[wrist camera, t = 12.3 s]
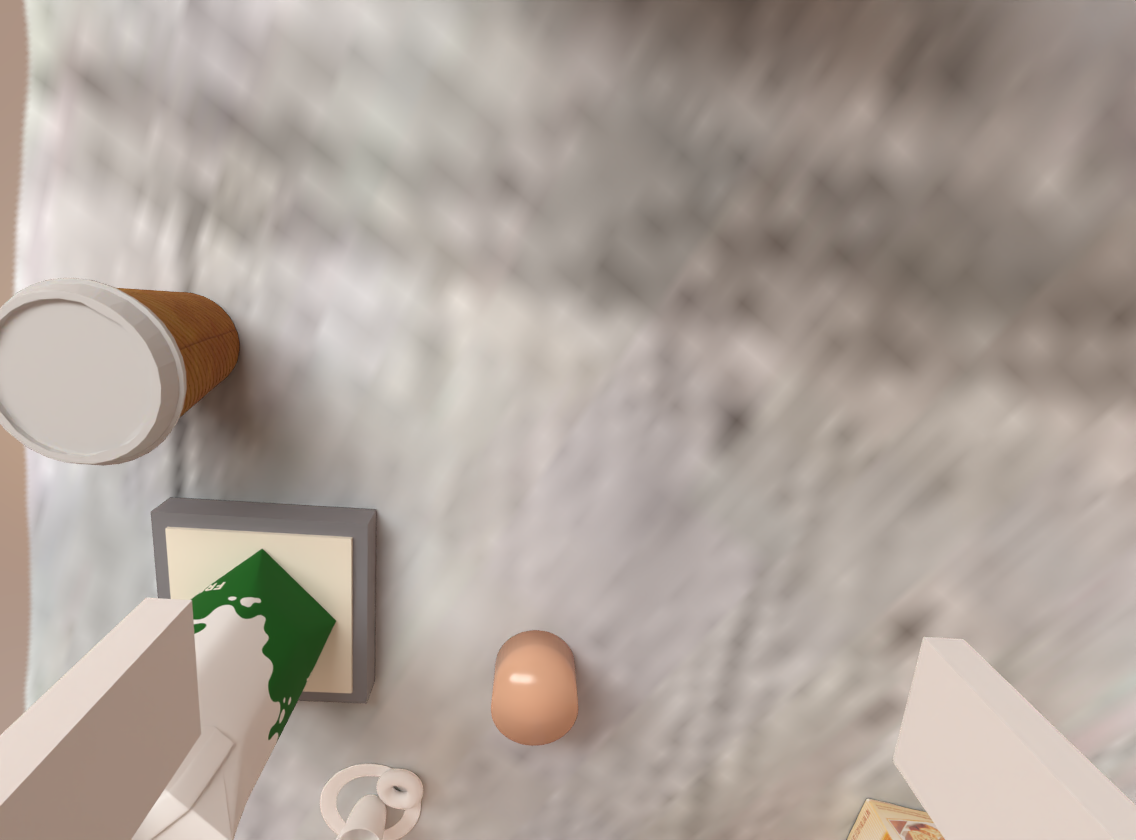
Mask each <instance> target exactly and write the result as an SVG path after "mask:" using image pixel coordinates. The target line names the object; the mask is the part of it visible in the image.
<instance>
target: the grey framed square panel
mask: <svg viewBox="0 0 1136 840" xmlns="http://www.w3.org/2000/svg"><path fill="white" fill-rule="evenodd" d="M151 521H152V533H153V545H154V556H155V568H156V580H157V592H158V598H161V599H181V600H190V599H192V598H193V597H194V596H196V595H197V594H198V593H200V592H201V591H202V590H204V589H205V588H207V587H208V586H209V585H211V584H212V583H214V582H215V581H216V580H218V579H219V578H221V577H222V576H224V575H225V574H226V573H228V572H229V571H231V570H232V569H234V568H235V567H236V566H238V565H239V564H241V563H242V562H244V561H245V560H246V559H248V558H249V557H251V556H252V555H254V554H255V553H256V552H258V551H259V550H261V549H263V550H264V551H265V552H267V553H268V554H269V555H270V556H271V557H272V558H273V559H274V560H275V561H276V562H277V563H278V564H279V565H280V566H281V567H282V568H283V569H284V570H285V571H286V572H287V573H288V574H289V575H290V576H291V577H292V578H293V579H294V580H295V581H296V582H297V583H298V584H299V585H300V586H301V587H302V588H303V589H304V590H305V591H306V592H307V593H308V594H310V595H311V596H312V597H313V598H314V599H315V600H316V601H317V602H318V603H319V604H320V605H321V606H322V607H323V608H324V609H325V610H326V611H327V612H328V613H329V614H330V615H331V616H332V617H333V618H334V619H335V620H336V623H335V625H334V627H333V629H332V631H331V633H330V635H329V637H328V639H327V641H326V644H325V646H324V648H323V650H322V652H321V654H320V656H319V658H318V661H317V663H316V665H315V667H314V669H313V671H312V673H311V675H310V677H309V679H308V682H307V684H306V686H305V687H304V689H303V691H302V693H301V695H300V697H299V699H298V700H300V701H324V702H348V703H367V701H368V698H369V696H370V693H371V690H372V687H373V684H374V682H375V586H376V509H360V508H343V507H326V506H309V505H292V504H275V503H258V502H241V501H224V500H207V499H190V498H173V497H170V498H169V499H167V500H166V501H165V502H163V503H162V504H161V505H159V506H158V507H156V508H155V509H154V510H152V511H151Z"/></svg>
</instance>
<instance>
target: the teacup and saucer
mask: <svg viewBox="0 0 1136 840" xmlns="http://www.w3.org/2000/svg"><path fill="white" fill-rule="evenodd" d="M363 776H376V777H380V778H379V780H378V782H377V793H378V796H376V795H366V796H363V797H362V798H361V799H360V800H359V801H358V802H357V803H356V804H355V806H354V807H353V809H352V811H351V813H350V815H349V817H348V819H347V822H345V821H344V820H343V819H342V818H341V817H340V815H339V813H338V811H337V807H336V799H337V795H338V793H339V791H340V790H341V788H342V787H343V786H344V785H345V784H346V783H348V782H349V781H351V780H353V779H355V778H358V777H363ZM393 786H397V787H398V788H399V789H400V790H401V792H400V791H397V790H396V789H394V788H393ZM422 797H423V784H422V782H421V780H420V779H419V777H418V776H417V775H416V774H414V773H413V772H411V771H409V770H406V769H400V768H397V769H393V768H390V767H388V766H384V765H379V764H358V765H354V766H350V767H347V768H345V769H343V770H341V771H339V772H338V773H336V774H335V775H334V776H332V777H331V778H330V779H329V781H328V782H327V783H326V785H325V786H324V788H323V790H322V793H321V797H320V810H321V814H322V816H323V819H324V820H325V822H326V824H327V825H328V826H329V827H330V829H331V830H332V831H334V832H335V833H336V834H337V835H338V837H337V838H336V840H398V839H400V838H402V837H403V836H405V835H406V834H407V833H408V832H409V831H410V830H411V829H412V828H413V827H414V826H415V824H416V823H417V821H418V818H419V816H420V812H421V799H422ZM385 804H386V805H388V806H390V807H392V808H396V809H405V812H404V814H403V816H402V818H401V819H400V821H399V822H398V823H396V824H395V825H394V826H392V827H391V828H388V829H386V830H384V829H385V823H386V806H385Z"/></svg>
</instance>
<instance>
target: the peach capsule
mask: <svg viewBox="0 0 1136 840" xmlns="http://www.w3.org/2000/svg"><path fill="white" fill-rule="evenodd" d="M491 713H492V718H493V721H494V723H495V725H496V727H497V728H498V730H499V731H500V732H501V733H502V734H503V735H504V736H506V737H507V738H509V739H510V740H512V741H514V742H517V743H520V744H524V745H544V744H548V743H551V742H554V741H556V740H558V739H559V738H561V737H562V736H564V735H565V734H566V733H567V732H568V731H569V730H570V729H571V727H572V726H573V725H574V723H575V721H576V718H577V714H578V698H577V686H576V673H575V662H574V656H573V653H572V651H571V649H570V647H569V646H568V645H567V644H566V642H565V641H563V640H562V639H561V638H560V637H558V636H556V635H554V634H552V633H549V632H545V631H539V630H532V631H526V632H522V633H519V634H517V635H515V636H513V637H512V638H510V639H509V640H508V641H506V642H505V643H504V645H503V646H502V647H501V649H500V650H499V652H498V654H497V658H496V664H495V674H494V684H493V694H492V704H491Z"/></svg>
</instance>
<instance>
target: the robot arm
mask: <svg viewBox="0 0 1136 840" xmlns="http://www.w3.org/2000/svg"><path fill="white" fill-rule="evenodd" d="M200 735H201V723H200V709H199V694H198V680H197V665H196V651H195V636H194V622H193V607H192V600H181V599H161V598H145V599H144V600H143V601H142V602H141V603H140V604H139V605H138V606H137V607H136V608H135V609H134V610H133V611H132V612H131V613H130V614H128V615H127V616H126V617H125V618H124V619H123V620H122V621H121V622H120V623H119V624H118V625H117V626H116V627H115V628H114V629H113V630H111V631H110V632H109V633H108V634H107V635H106V636H105V637H104V638H103V639H102V640H101V641H100V642H99V643H98V644H97V645H96V646H95V647H93V648H92V649H91V650H90V651H89V652H88V653H87V654H86V655H85V656H84V657H83V658H82V659H81V660H80V661H79V662H78V663H76V664H75V665H74V666H73V667H72V668H71V669H70V670H69V671H68V672H67V673H66V674H65V675H64V676H63V677H62V678H61V679H59V680H58V681H57V682H56V683H55V684H54V685H53V686H52V687H51V688H50V689H49V690H48V691H47V692H46V693H45V694H44V695H43V696H41V697H40V698H39V699H38V700H37V701H36V702H35V703H34V704H33V705H32V706H31V707H30V708H29V709H28V710H27V711H26V712H24V713H23V714H22V715H21V716H20V717H19V718H18V719H17V720H16V721H15V722H14V723H13V724H12V725H11V726H10V727H9V728H8V729H6V730H5V731H4V732H3V733H2V734H1V735H0V840H131V839H132V837H133V836H134V834H135V833H136V831H137V830H138V828H139V827H140V825H141V824H142V822H143V821H144V819H145V818H146V816H147V815H148V813H149V812H150V810H151V809H152V807H153V806H154V804H155V803H156V801H157V800H158V798H159V797H160V795H161V794H162V792H163V791H164V789H165V788H166V786H167V785H168V783H169V782H170V780H171V779H172V777H173V776H174V774H175V773H176V771H177V770H178V768H179V767H180V765H181V764H182V762H183V761H184V759H185V758H186V756H187V755H188V753H189V752H190V750H191V749H192V747H193V746H194V744H195V743H196V741H197V740H198V738H199V737H200ZM893 762H894V764H895V765H896V767H897V768H898V770H899V771H900V773H901V774H902V776H903V777H904V779H905V780H906V782H907V783H908V785H909V786H910V788H911V789H912V791H913V792H914V794H915V795H916V797H917V798H918V800H919V801H920V803H921V804H922V806H923V807H924V809H925V810H926V812H927V813H928V815H929V816H930V818H931V819H932V821H933V822H934V824H935V825H936V827H937V828H938V830H939V831H940V833H941V834H942V836H943V837H944V839H945V840H1136V805H1135V804H1134V803H1133V802H1132V801H1131V800H1130V799H1128V798H1127V797H1126V796H1125V795H1124V794H1123V793H1122V792H1121V791H1120V790H1119V789H1118V788H1117V787H1116V786H1115V785H1114V784H1113V783H1112V782H1111V781H1110V780H1109V779H1108V778H1107V777H1106V776H1105V775H1104V774H1103V773H1102V772H1101V771H1099V770H1098V769H1097V768H1096V767H1095V766H1094V765H1093V764H1092V763H1091V762H1090V761H1089V760H1088V759H1087V758H1086V757H1085V756H1084V755H1083V754H1082V753H1081V752H1080V751H1079V750H1078V749H1077V748H1076V747H1075V746H1074V745H1073V744H1071V743H1070V742H1069V741H1068V740H1067V739H1066V738H1065V737H1064V736H1063V735H1062V734H1061V733H1060V732H1059V731H1058V730H1057V729H1056V728H1055V727H1054V726H1053V725H1052V724H1051V723H1050V722H1049V721H1048V720H1047V719H1046V718H1045V717H1044V716H1042V715H1041V714H1040V713H1039V712H1038V711H1037V710H1036V709H1035V708H1034V707H1033V706H1032V705H1031V704H1030V703H1029V702H1028V701H1027V700H1026V699H1025V698H1024V697H1023V696H1022V695H1021V694H1020V693H1019V692H1018V691H1017V690H1016V689H1015V688H1013V687H1012V686H1011V685H1010V684H1009V683H1008V682H1007V681H1006V680H1005V679H1004V678H1003V677H1002V676H1001V675H1000V674H999V673H998V672H997V671H996V670H995V669H994V668H993V667H992V666H991V665H990V664H989V663H988V662H987V661H986V660H984V659H983V658H982V657H981V656H980V655H979V654H978V653H977V652H976V651H975V650H974V649H973V648H972V647H971V646H970V645H969V644H968V643H967V642H966V641H965V640H964V639H955V638H935V637H923V641H922V645H921V649H920V653H919V657H918V661H917V665H916V669H915V673H914V677H913V681H912V685H911V689H910V693H909V697H908V701H907V705H906V709H905V713H904V717H903V721H902V725H901V729H900V733H899V737H898V741H897V745H896V749H895V753H894V757H893Z"/></svg>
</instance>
